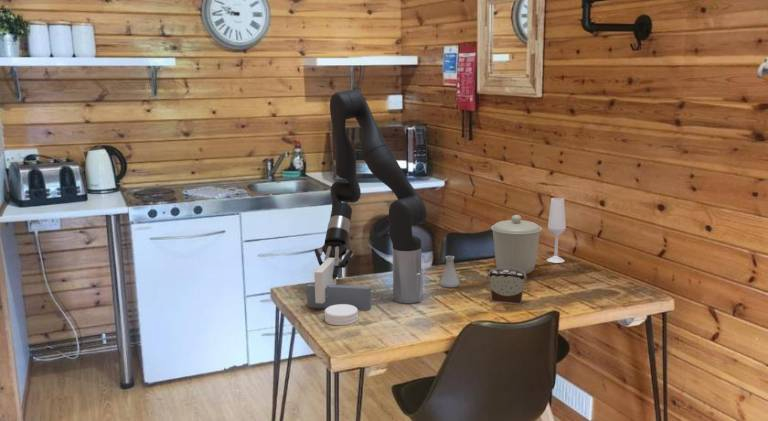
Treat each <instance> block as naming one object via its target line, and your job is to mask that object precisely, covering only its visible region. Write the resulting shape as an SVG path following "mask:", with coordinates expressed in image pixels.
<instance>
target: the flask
mask: <svg viewBox="0 0 768 421" xmlns="http://www.w3.org/2000/svg"><path fill="white" fill-rule="evenodd" d="M454 261H455V256H454V255H446V256H445V267H444V270H443V272H442V276H441V279H440V281H439V286H440V287H444V288H457V287H459V286H460V285H461V284H460V279H459V277H458V274H457V272H456V268H455V263H454Z"/></svg>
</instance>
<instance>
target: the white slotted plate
mask: <svg viewBox="0 0 768 421" xmlns="http://www.w3.org/2000/svg"><path fill="white" fill-rule="evenodd" d="M324 260H325V259H324ZM322 262H323V264H322V265H321V266H320V265H319V267H317V269H316V270H315V271H314V275H313V276H314V284H315V303H324V302H325V296H329V292H328V287H329V286H330V285H337V278H336V279H333V270H334V266H335V258H327V259H326V260H325V261H322Z"/></svg>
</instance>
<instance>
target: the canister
mask: <svg viewBox="0 0 768 421" xmlns="http://www.w3.org/2000/svg"><path fill="white" fill-rule="evenodd" d="M490 230H491V231H492V238H493V239H492V240H493V248H494V257H495V264H496V265H495V266H496V268H516V269H520V270H522V271H524V272H525V274H526V275H528V274H530V273H532V272H533V271H534V269H535V267H536V263H537V256H538V249H539V242H540V235H541V234H540V233H541V232H542V231H543V228H542V226H541V225H539V224H537V223H536V222H532V221H529V220H522V216H521V215H519V214H514V215H512V216H511V219H508V220H501V221H500V220H499V221H497V222H495V223H494V224H492V225H491V226H490Z"/></svg>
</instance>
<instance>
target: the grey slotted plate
mask: <svg viewBox="0 0 768 421" xmlns="http://www.w3.org/2000/svg"><path fill="white" fill-rule="evenodd" d="M371 289H372V288H371V286H369V285H367V286H366V285H350V284H349V285H346V284H345V285H344V284H336V285H330V286H329V287H328V292H329V296H325V302H324V303H315V283H308V284H307V285H306V304H307V308H314V309H315V308H316V309H326V308H328V307H329V306H332V305H338V304H348V305H352V306H355V307H356V308H357V309H358V311H370V310H371V308H372V297H371V296H372V294H371V293H372V290H371Z"/></svg>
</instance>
